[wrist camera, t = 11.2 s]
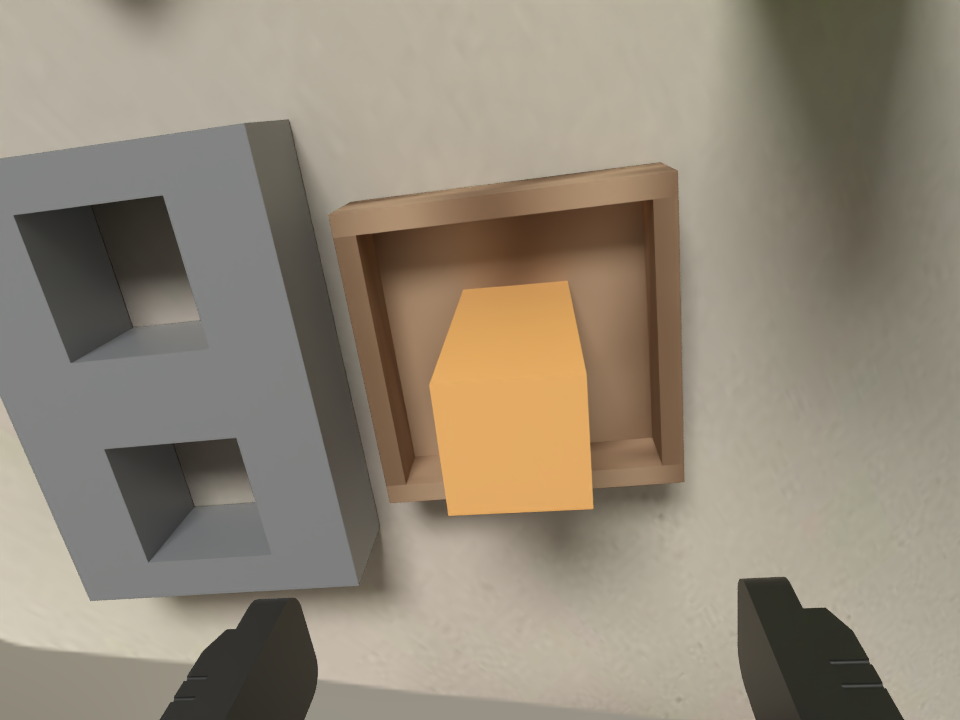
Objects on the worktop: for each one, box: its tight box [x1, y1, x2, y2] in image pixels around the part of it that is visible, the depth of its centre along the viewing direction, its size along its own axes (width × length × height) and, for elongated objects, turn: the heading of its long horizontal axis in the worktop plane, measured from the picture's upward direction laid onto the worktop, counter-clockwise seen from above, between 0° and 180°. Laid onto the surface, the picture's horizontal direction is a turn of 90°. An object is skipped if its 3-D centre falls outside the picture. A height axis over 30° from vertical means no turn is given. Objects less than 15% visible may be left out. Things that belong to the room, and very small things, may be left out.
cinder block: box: [0, 120, 380, 601], centre depth 26 cm, size 12×18×4 cm, turn 7°
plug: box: [429, 281, 593, 516], centre depth 21 cm, size 4×4×9 cm
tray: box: [328, 162, 684, 503], centre depth 25 cm, size 12×12×3 cm
